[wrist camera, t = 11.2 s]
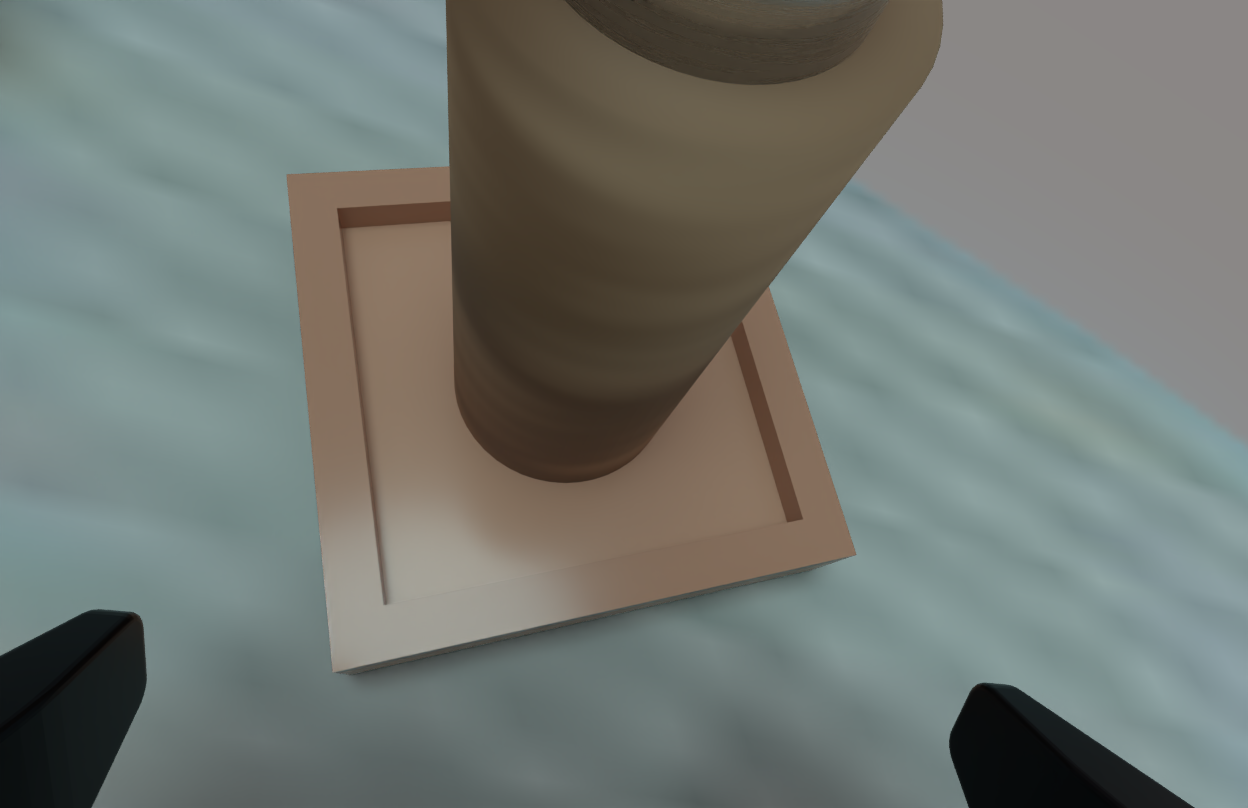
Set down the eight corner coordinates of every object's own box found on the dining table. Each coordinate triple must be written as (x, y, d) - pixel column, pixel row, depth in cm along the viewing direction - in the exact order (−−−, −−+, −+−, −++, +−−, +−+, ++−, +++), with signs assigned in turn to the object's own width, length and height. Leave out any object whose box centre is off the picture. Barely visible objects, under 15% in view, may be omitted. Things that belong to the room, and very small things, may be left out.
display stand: (810, 570, 18) (856, 554, 16) (350, 674, 15) (332, 672, 13) (699, 204, 22) (724, 153, 20) (306, 232, 19) (286, 174, 17)
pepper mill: (702, 368, 18) (1176, -254, 6) (586, 527, 16) (955, 57, 4) (542, 251, 18) (695, -566, 6) (407, 392, 16) (257, -424, 4)
